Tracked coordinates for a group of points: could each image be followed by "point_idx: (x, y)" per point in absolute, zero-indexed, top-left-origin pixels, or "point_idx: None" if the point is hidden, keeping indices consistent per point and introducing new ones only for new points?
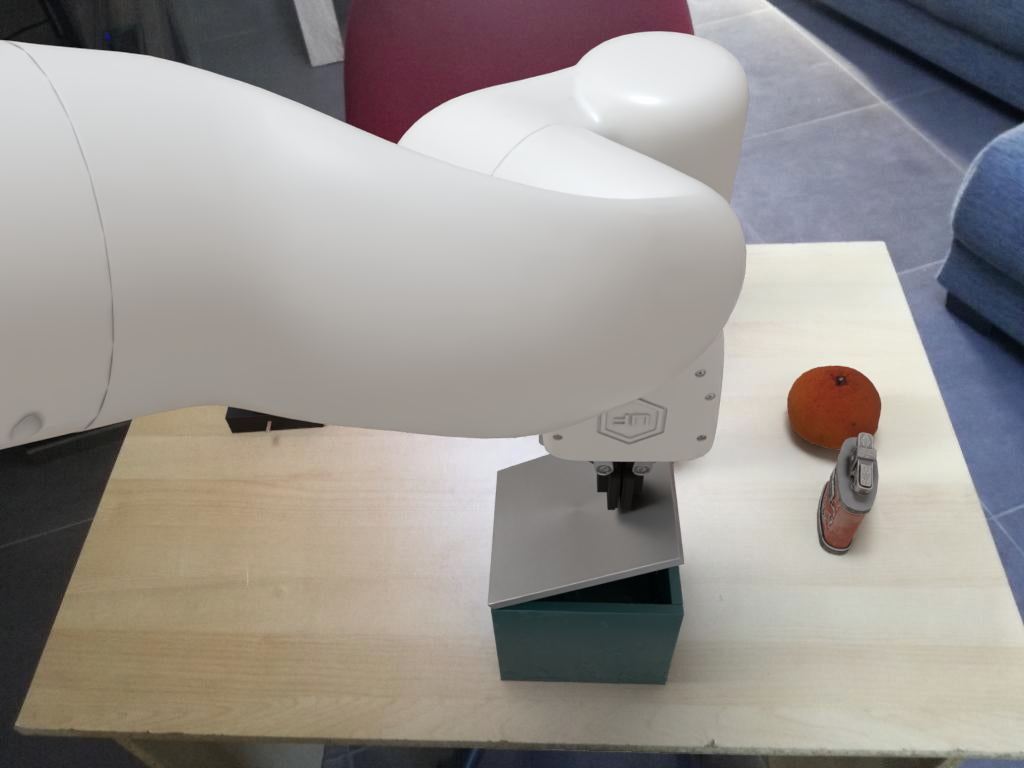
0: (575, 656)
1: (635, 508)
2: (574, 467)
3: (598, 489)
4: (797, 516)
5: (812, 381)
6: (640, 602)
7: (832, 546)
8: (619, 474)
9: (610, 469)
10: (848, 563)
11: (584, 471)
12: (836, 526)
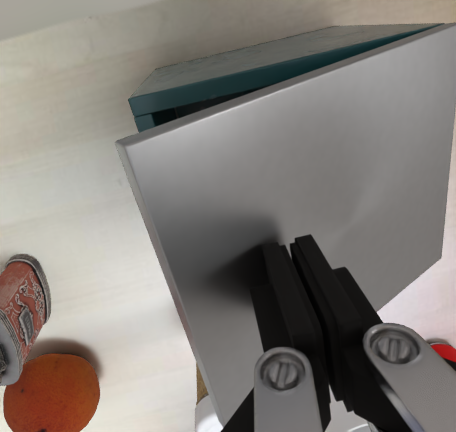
0: (267, 48)
1: (253, 251)
2: None
3: (348, 274)
4: (66, 282)
5: (71, 425)
6: None
7: (22, 261)
8: (334, 334)
9: (369, 346)
10: (5, 248)
11: None
12: (13, 284)
